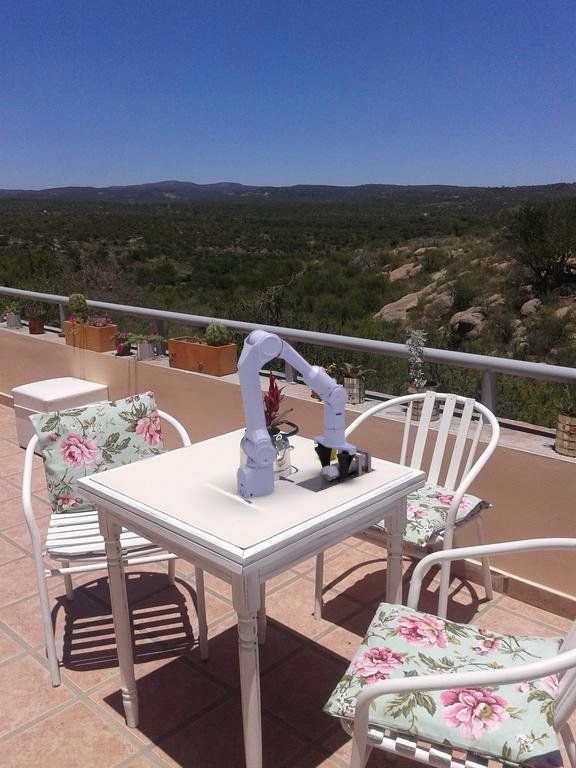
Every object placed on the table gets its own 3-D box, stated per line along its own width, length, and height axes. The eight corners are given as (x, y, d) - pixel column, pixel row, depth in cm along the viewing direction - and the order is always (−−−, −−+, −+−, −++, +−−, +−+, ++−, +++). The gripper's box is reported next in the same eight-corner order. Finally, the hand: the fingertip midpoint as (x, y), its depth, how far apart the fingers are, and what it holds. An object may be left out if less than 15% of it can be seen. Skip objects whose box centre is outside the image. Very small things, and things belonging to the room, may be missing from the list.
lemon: (337, 465, 197) (337, 439, 196) (319, 465, 197) (318, 440, 196) (336, 459, 203) (336, 434, 201) (318, 459, 203) (318, 434, 201)
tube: (330, 483, 180) (331, 470, 179) (320, 478, 183) (321, 464, 182) (367, 469, 190) (368, 456, 189) (357, 464, 193) (358, 452, 191)
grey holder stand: (316, 496, 174) (315, 471, 172) (294, 488, 180) (293, 464, 179) (376, 473, 189) (376, 450, 187) (354, 466, 195) (354, 444, 194)
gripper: (363, 428, 178) (364, 476, 181) (326, 418, 189) (327, 463, 192) (345, 434, 173) (346, 482, 176) (308, 423, 184) (309, 469, 187)
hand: (335, 473), depth 184 cm, fingers open, 6 cm apart
